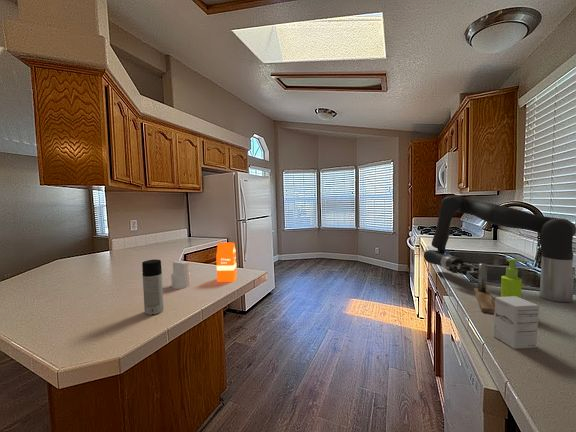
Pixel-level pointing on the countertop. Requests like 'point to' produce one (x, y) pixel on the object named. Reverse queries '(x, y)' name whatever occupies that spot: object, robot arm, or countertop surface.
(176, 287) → the white lidded jar
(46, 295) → the countertop surface
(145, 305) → the spray can
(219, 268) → the orange juice
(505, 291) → the soap dispenser
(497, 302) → the supplement box
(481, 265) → the base with upright cylinder
